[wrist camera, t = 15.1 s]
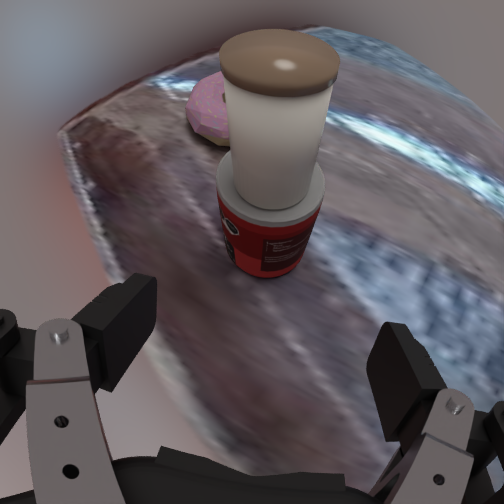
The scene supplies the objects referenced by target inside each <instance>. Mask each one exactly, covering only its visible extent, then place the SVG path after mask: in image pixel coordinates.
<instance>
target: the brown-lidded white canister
mask: <svg viewBox="0 0 504 504" xmlns="http://www.w3.org/2000/svg"><path fill="white" fill-rule="evenodd" d="M219 58H220V68H221V72H222V74H223V78H224V88H225V99H226V110H227V120H228V130H229V140H230V150H231V160H232V170H233V180H234V185H235V188H236V190H237V192H238V193H239V194H240V196H241V197H242V198H243V199H244V200H246V201H247V202H249V203H250V204H252V205H254V206H257V207H260V208H264V209H274V210H275V209H283V208H287V207H290V206H293V205H295V204H296V203H298V202H299V201H301V200H302V199H303V198H304V197H305V195H306V194H307V192H308V190H309V188H310V184H311V180H312V176H313V171H314V167H315V163H316V159H317V155H318V150H319V146H320V142H321V138H322V133H323V129H324V124H325V120H326V115H327V111H328V106H329V102H330V97H331V92H332V88H333V83H334V82H335V81H336V79H337V74H338V69H339V64H340V58H339V55H338V54H337V52H336V51H335V50H334V49H333V48H332V47H331V46H330V45H329V44H327V43H326V42H324V41H322V40H320V39H318V38H316V37H314V36H311V35H308V34H305V33H301V32H297V31H291V30H283V29H263V30H255V31H250V32H246V33H242V34H239V35H237V36H235V37H233V38H231V39H229V40H228V41H227V42H225V43H224V44H223V45H222V47H221V49H220V51H219Z"/></svg>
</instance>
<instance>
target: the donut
mask: <svg viewBox="0 0 504 504" xmlns="http://www.w3.org/2000/svg"><path fill="white" fill-rule="evenodd" d="M185 109H186V115H187V119H188V120H189V122H190V124H191V126H192V127H193V129H194V131H195V133H198V134H200V135H202V136H203V137H205V138H207V139H208V140H210V141H212V142H214V143H215V144H217V145H219V146H230V140H229V130H228V120H227V110H226V99H225V88H224V78H223V74H222V72H221V71H219V72H217V73H215V74H213V75H210V76H208V77H206V78H204V79H202V80H201V81H199V82H198V83H197V84H196V85H195V86H194V87H193V90H192V92H191V95H190V97H189V100H188V102H187V105H186V108H185Z"/></svg>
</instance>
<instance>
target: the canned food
mask: <svg viewBox="0 0 504 504" xmlns="http://www.w3.org/2000/svg"><path fill="white" fill-rule="evenodd" d="M216 188H217V197H218V203H219V209H220V215H221V221H222V227H223V233H224V238H225V244H226V248H227V252H228V254H229V256H230V257H231V259H232V260H233V262H234V263H235V264H236V265H237V266H238V267H240V268H241V269H242V270H243V271H245V272H247V273H249V274H251V275H254V276H257V277H263V278H272V277H277V276H280V275H283V274H285V273H287V272H289V271H290V270H292V269H293V268H294V267H295V266H296V265H297V264H298V263H299V262H300V260H301V258H302V256H303V253H304V251H305V248H306V245H307V243H308V240H309V237H310V235H311V232H312V229H313V227H314V224H315V221H316V219H317V216H318V213H319V210H320V207H321V204H322V201H323V197H324V190H325V178H324V175H323V172H322V170H321V168H320V166H319V164H318V163H317V162H316V163H315V167H314V171H313V176H312V180H311V184H310V188H309V190H308V192H307V194H306V195H305V197H304V198H303V199H302V200H301V201H299V202H298V203H296V204H295V205H293V206H290V207H287V208H283V209H275V210H274V209H264V208H260V207H257V206H254V205H252V204H250V203H249V202H247V201H246V200H244V199H243V198H242V197H241V196H240V194H239V193H238V192H237V190H236V188H235V185H234V180H233V170H232V160H231V150H230V151H229V152H227V153H226V154H225V156H224V157H223V158H222V159H221V161H220V163H219V165H218V168H217V173H216Z"/></svg>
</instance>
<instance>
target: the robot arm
mask: <svg viewBox="0 0 504 504" xmlns="http://www.w3.org/2000/svg"><path fill="white" fill-rule="evenodd" d="M156 306H157V280H156V278H155V277H152V276H148V275H143V274H139V273H134V274H133V275H132V276H130V277H129V278H128V279H127V280H126V281H125V282H124V283H117V284H114V285H112V286H109V287H107V288H106V289H105V290H103V291H102V292H101V293H100V294H99V296H97V297H96V298H94V299H93V300H92V302H90V303H89V304H87V305H86V306H85V307H84V308H83V309H82V310H81V311H80V312H78V313H77V314H76V315H75V316H74V317H73V318H72V319H71V320H69V319H53V320H49V321H47V322H45V323H43V324H42V325H40V326H39V328H38V329H37V330H32V329H26V328H20V327H18V324H17V320H16V316H15V315H14V313H13V312H11V311H9V310H6V309H0V445H1V444H2V442H3V441H4V439H5V438H6V436H7V435H8V433H9V432H10V430H11V429H12V428H13V426H14V425H15V423H16V422H17V420H18V419H19V417H20V416H21V415H22V414H23V412H24V411H25V409H26V421H27V438H28V449H29V459H30V467H31V475H32V481H33V487H34V489H33V490H30V491H27V492H23V493H20V494H16V495H13V496H9V497H5V498H1V499H0V504H504V484H503V486H502V488H501V489H500V490H499V491H498V492H496V493H495V492H494V489H493V486H492V483H491V480H490V477H489V474H488V471H487V468H486V467H487V466H488V465H489V464H490V463H491V462H492V461H493V460H494V459H495V458H496V456H497V455H498V458H499V460H500V463H501V465H502V468H503V471H504V401H499V402H497V403H496V404H495V405H494V406H493V408H492V409H491V410H490V412H489V413H486V412H481V411H477V410H474V405H473V403H472V402H471V400H470V399H469V398H468V397H467V396H466V395H465V394H463V393H462V392H460V391H458V390H455V389H448V388H447V386H446V384H445V382H444V380H443V379H442V377H441V375H440V373H439V371H438V370H437V368H436V366H434V363H433V361H432V359H431V358H430V356H429V354H428V352H427V351H426V349H425V347H424V346H422V345H421V344H420V343H419V342H418V341H417V340H416V339H414V337H413V336H412V334H411V332H410V331H409V329H408V327H407V326H406V325H405V324H401V323H393V322H385V323H384V324H383V325H382V327H381V329H380V332H379V334H378V336H377V339H376V341H375V343H374V346H373V348H372V350H371V353H370V355H369V357H368V361H367V367H366V371H367V376H368V379H369V382H370V386H371V389H372V393H373V396H374V400H375V403H376V407H377V410H378V414H379V418H380V421H381V425H382V429H383V433H384V437H385V441H386V442H396V441H400V446H399V448H398V449H397V450H396V452H395V453H394V455H393V457H392V458H391V460H390V462H389V463H388V465H387V467H386V468H385V470H384V471H383V473H382V474H381V476H380V478H379V479H378V481H377V482H376V484H375V485H374V487H373V488H372V489H371V491H370V492H369V493H368V494H367V493H365V492H362V491H360V490H358V489H355V488H352V487H348V486H345V478H344V474H329V473H308V472H298V473H290V474H281V475H270V476H250V475H247V474H244V473H242V472H239V471H236V470H234V469H231V468H229V467H227V466H224V465H222V464H219V463H217V462H215V461H212V460H210V459H208V458H205V457H201V456H197V455H193V454H188V453H185V452H181V451H178V450H174V449H170V448H167V447H163V446H161V447H160V450H159V452H158V455H157V457H151V456H137V457H127V458H121V459H117V460H113V459H112V456H111V453H110V450H109V447H108V443H107V440H106V437H105V433H104V429H103V426H102V422H101V418H100V414H99V410H98V407H97V402H96V398H95V393H96V392H97V391H98V389H99V388H101V389H103V390H106V391H109V392H112V391H113V390H114V388H115V387H116V385H117V384H118V382H119V381H120V379H121V378H122V376H123V375H124V373H125V372H126V370H127V369H128V367H129V366H130V364H131V363H132V361H133V360H134V358H135V357H136V355H137V354H138V352H139V351H140V349H141V348H142V346H143V345H144V343H145V342H146V341H147V339H148V338H149V336H150V335H151V333H152V331H153V329H154V326H155V322H156Z"/></svg>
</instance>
